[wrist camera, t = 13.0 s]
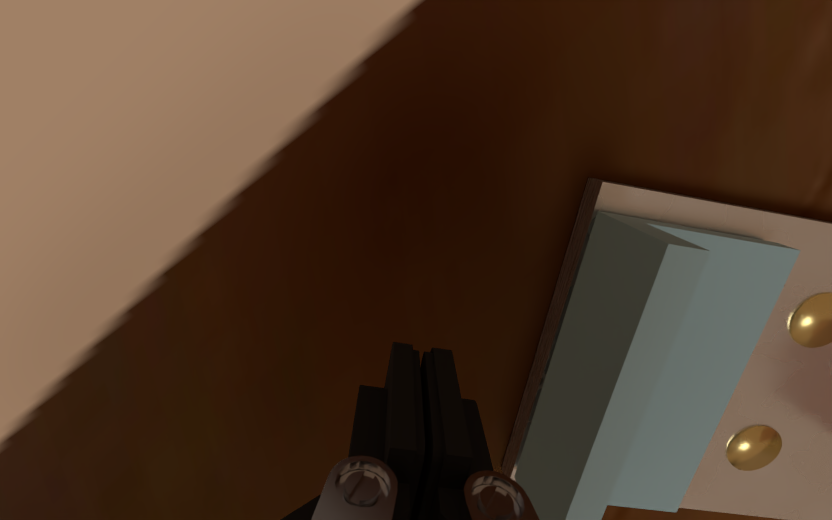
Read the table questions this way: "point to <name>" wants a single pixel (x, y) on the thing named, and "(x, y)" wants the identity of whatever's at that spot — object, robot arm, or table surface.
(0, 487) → the table surface
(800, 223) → the base
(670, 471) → the cover
